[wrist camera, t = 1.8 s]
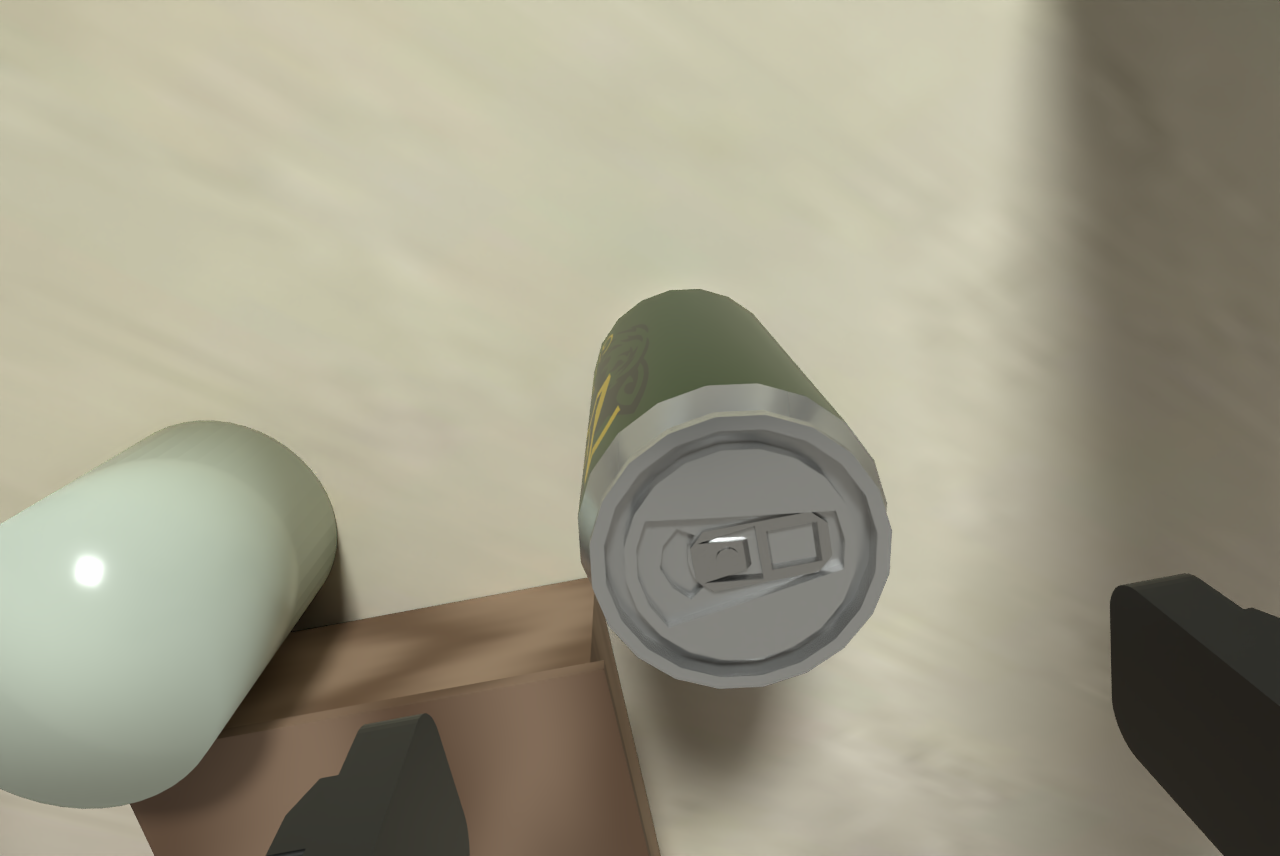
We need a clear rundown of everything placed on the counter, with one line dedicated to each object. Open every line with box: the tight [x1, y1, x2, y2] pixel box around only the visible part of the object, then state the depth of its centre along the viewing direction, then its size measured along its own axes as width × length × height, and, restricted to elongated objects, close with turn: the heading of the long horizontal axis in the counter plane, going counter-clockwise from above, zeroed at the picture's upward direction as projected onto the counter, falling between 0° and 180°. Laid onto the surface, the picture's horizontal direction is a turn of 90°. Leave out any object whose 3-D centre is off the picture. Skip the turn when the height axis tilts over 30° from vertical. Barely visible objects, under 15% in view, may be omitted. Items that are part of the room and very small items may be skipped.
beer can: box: [578, 289, 892, 689], centre depth 19 cm, size 5×5×12 cm
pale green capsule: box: [0, 421, 337, 809], centre depth 22 cm, size 7×7×8 cm
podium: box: [130, 578, 661, 856], centre depth 26 cm, size 13×13×6 cm
